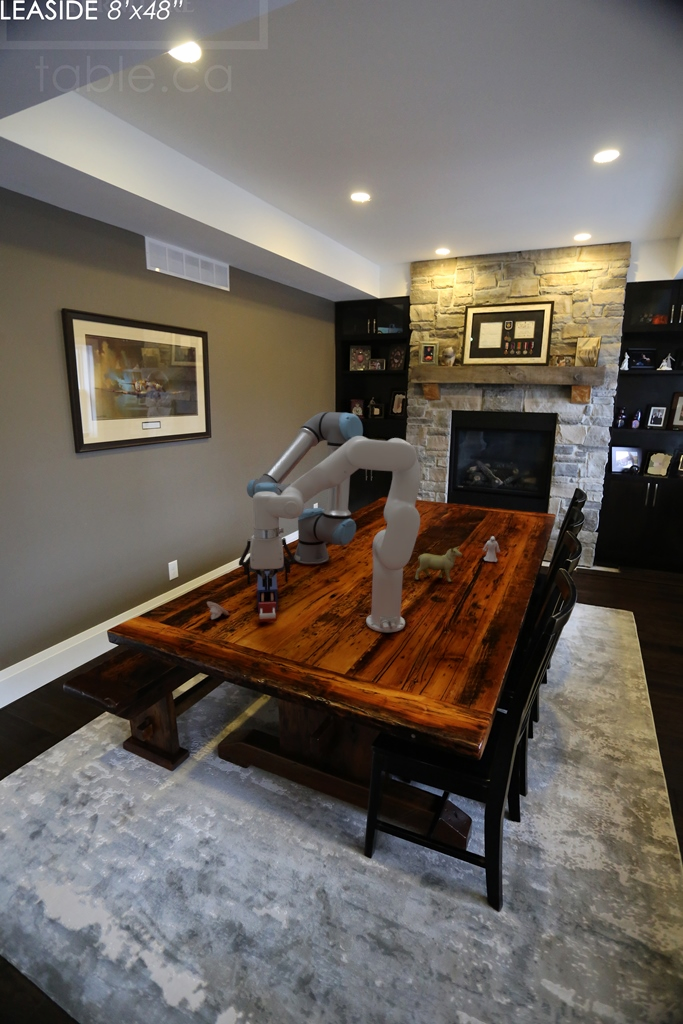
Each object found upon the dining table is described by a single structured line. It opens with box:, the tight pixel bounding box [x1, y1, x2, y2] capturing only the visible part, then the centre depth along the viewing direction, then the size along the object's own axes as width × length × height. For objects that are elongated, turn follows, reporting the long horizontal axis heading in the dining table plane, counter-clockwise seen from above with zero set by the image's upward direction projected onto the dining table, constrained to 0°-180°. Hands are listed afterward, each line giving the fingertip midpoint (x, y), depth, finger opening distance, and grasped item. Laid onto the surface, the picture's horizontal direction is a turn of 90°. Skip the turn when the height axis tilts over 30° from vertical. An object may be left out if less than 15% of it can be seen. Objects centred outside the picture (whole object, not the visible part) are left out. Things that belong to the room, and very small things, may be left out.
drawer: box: [258, 592, 277, 623], centre depth 165 cm, size 22×6×6 cm, turn 8°
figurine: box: [482, 535, 501, 563], centre depth 223 cm, size 8×8×12 cm
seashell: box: [206, 600, 230, 620], centre depth 164 cm, size 8×5×8 cm
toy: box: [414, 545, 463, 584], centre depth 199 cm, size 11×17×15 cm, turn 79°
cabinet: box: [256, 570, 279, 613], centre depth 177 cm, size 18×7×8 cm, turn 8°
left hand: (267, 582), depth 183 cm, fingers open, 13 cm apart
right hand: (267, 588), depth 156 cm, fingers closed
